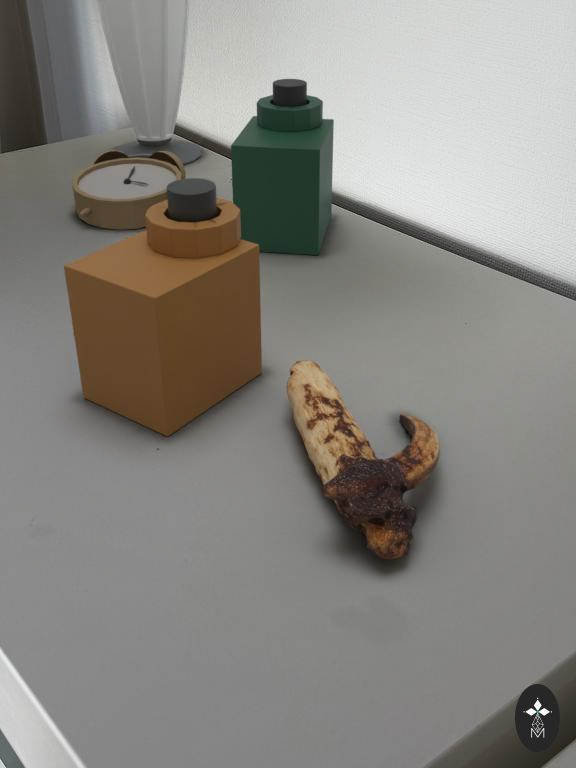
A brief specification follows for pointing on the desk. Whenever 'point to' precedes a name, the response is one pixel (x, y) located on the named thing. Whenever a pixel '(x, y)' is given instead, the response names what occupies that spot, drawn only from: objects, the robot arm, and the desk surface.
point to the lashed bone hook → (360, 462)
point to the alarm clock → (124, 187)
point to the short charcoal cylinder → (289, 92)
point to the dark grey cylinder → (192, 200)
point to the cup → (149, 69)
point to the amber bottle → (168, 318)
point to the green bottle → (284, 177)
